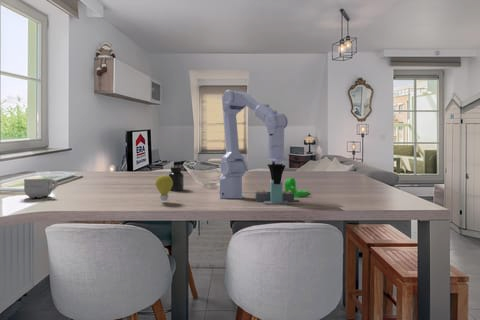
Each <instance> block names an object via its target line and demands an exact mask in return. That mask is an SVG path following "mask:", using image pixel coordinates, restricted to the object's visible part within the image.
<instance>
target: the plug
mask: <svg viewBox="0 0 480 320" xmlns="http://www.w3.org/2000/svg"><path fill="white" fill-rule="evenodd" d="M269 183H270V185H269V186H270V188H269V189H270V190H269V192H270V201H271V203H282V192H283V183H284V180H283V179H281V183H280V184H274V181H273V180H272V179H269Z"/></svg>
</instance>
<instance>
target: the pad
mask: <svg viewBox="0 0 480 320" xmlns="http://www.w3.org/2000/svg"><path fill="white" fill-rule="evenodd" d="M263 204H264V205H269V206H270V205H272V206H273V205H274V206H275V205H291V202H288V201H282V203H271V201H263Z"/></svg>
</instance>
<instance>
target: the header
mask: <svg viewBox="0 0 480 320" xmlns="http://www.w3.org/2000/svg"><path fill="white" fill-rule="evenodd" d="M254 192H255V194H254V196H255V197H254V198H255V202H256V203H257V202H259V203H260V202H261V203H262V202H263V201H270V191H266V190H264V189H263V190H262V191H260V190H259V189H256V191H254ZM282 201H288V202H289V203H291V202H295V197H294V193H292V191H291V190H289V192H286V191H285V189H282ZM263 203H264V202H263Z"/></svg>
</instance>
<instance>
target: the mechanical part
mask: <svg viewBox="0 0 480 320" xmlns="http://www.w3.org/2000/svg"><path fill="white" fill-rule="evenodd" d="M296 184H297V182H296V179H295V178H293V177H287V178H286V179H285V183H284V190H285V191H286V192H289V190H291V191H292V193H294V198H296V199H297V198H300V197H303V196H306V195H307V196H308V195H309V194H310V193H309V192H310V191H309V190H298V189H297V185H296Z"/></svg>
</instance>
